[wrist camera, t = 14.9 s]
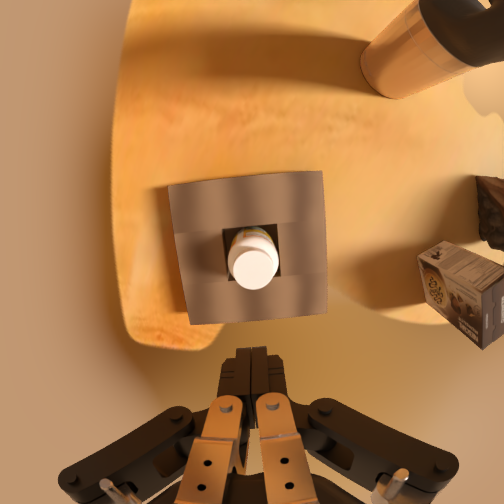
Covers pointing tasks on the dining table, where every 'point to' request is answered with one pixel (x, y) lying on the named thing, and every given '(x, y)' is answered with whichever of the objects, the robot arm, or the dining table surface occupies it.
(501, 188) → the owl
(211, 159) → the dining table surface
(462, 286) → the coffee box
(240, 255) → the supplement bottle
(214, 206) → the socket board
